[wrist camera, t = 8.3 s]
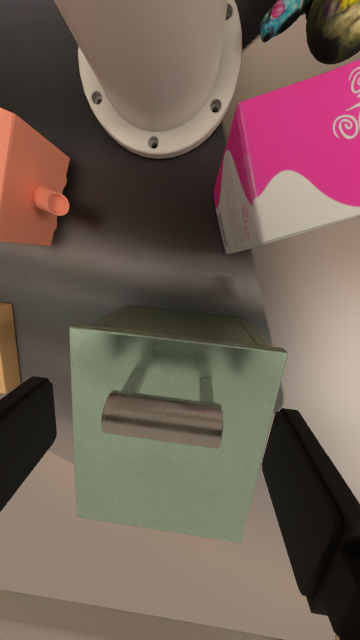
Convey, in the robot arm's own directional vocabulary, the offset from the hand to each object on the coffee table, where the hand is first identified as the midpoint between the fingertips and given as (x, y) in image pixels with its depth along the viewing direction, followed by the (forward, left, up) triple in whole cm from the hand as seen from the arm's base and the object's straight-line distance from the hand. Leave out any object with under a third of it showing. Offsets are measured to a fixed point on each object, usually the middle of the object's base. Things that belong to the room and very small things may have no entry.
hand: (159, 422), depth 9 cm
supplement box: (-11, +5, -15) cm, 19 cm away
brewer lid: (+5, 0, -5) cm, 7 cm away
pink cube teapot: (-11, -15, -15) cm, 24 cm away
